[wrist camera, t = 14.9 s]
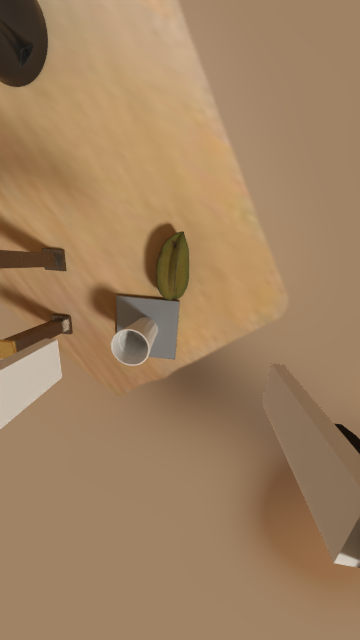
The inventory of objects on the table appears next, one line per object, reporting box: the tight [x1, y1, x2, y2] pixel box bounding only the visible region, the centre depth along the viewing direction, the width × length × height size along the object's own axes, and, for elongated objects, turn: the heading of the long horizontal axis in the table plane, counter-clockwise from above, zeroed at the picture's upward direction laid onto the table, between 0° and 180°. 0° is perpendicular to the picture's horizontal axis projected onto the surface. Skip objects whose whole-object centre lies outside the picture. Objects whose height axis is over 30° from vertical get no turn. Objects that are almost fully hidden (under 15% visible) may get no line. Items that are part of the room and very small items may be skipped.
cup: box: [111, 317, 158, 366], centre depth 44 cm, size 8×8×12 cm
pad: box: [116, 295, 180, 360], centre depth 50 cm, size 16×16×1 cm
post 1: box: [0, 248, 66, 271], centre depth 40 cm, size 5×5×17 cm
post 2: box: [0, 314, 73, 359], centre depth 45 cm, size 5×5×17 cm
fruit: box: [156, 231, 189, 301], centre depth 42 cm, size 11×12×7 cm
